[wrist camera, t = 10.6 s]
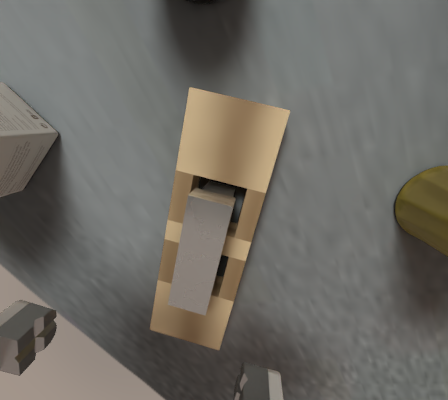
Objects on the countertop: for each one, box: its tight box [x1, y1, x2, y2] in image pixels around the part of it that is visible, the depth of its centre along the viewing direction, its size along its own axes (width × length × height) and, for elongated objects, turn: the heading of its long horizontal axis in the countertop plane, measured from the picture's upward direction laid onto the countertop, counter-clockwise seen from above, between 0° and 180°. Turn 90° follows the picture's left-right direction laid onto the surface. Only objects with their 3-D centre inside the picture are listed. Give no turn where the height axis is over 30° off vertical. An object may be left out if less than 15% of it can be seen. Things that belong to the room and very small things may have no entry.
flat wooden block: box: [150, 87, 290, 350], centre depth 21 cm, size 7×22×3 cm, turn 167°
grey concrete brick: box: [168, 181, 236, 316], centre depth 20 cm, size 3×9×6 cm, turn 167°
